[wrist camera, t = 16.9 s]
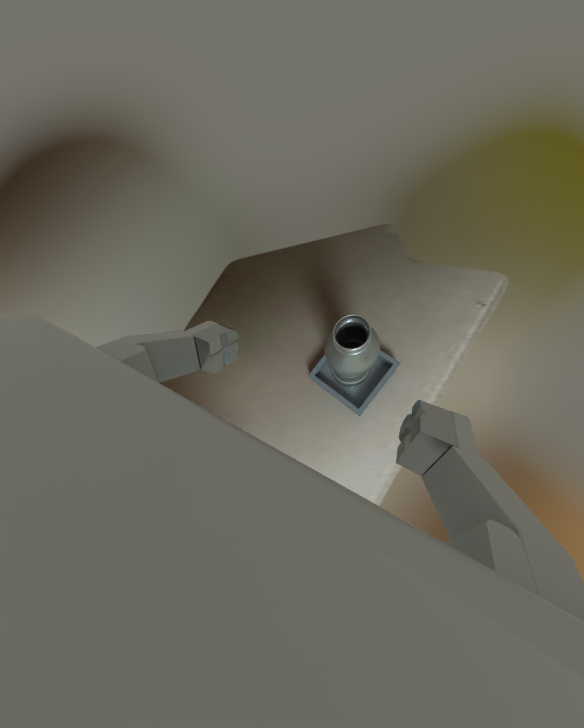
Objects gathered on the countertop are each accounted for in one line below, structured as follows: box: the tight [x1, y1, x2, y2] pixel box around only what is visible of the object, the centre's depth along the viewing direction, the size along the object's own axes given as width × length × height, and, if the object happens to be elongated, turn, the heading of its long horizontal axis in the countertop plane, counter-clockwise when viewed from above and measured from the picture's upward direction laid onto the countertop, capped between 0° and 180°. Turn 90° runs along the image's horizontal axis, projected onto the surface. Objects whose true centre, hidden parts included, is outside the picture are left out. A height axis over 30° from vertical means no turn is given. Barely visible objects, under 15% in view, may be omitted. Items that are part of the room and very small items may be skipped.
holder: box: [308, 350, 400, 416], centre depth 38 cm, size 11×11×3 cm
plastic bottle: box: [325, 314, 380, 387], centre depth 29 cm, size 6×7×20 cm
